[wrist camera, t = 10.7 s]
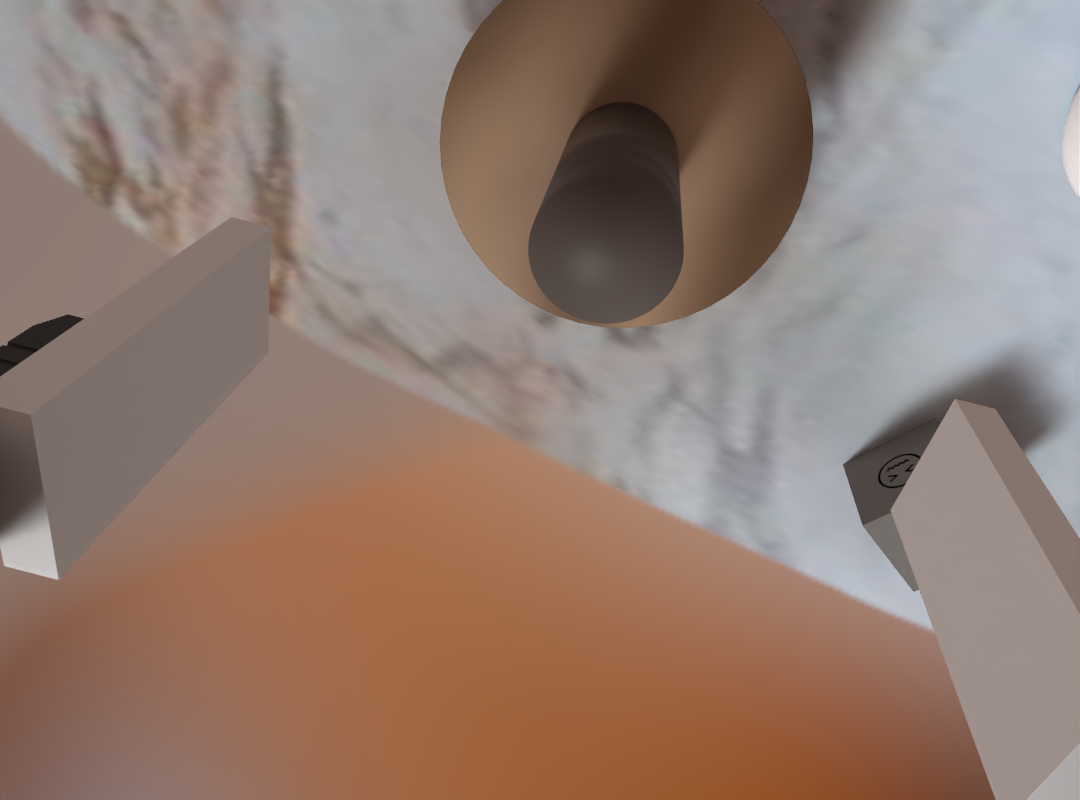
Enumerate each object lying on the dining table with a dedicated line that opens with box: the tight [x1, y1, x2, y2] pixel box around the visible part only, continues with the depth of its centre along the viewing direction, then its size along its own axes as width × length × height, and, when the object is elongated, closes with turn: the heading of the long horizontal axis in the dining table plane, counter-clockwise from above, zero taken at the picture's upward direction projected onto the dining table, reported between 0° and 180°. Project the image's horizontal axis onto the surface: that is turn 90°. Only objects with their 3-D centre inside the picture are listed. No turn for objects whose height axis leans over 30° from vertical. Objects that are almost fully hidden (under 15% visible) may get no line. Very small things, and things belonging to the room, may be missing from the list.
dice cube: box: [843, 418, 940, 591], centre depth 40 cm, size 5×5×5 cm
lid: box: [440, 0, 813, 328], centre depth 25 cm, size 13×13×10 cm
